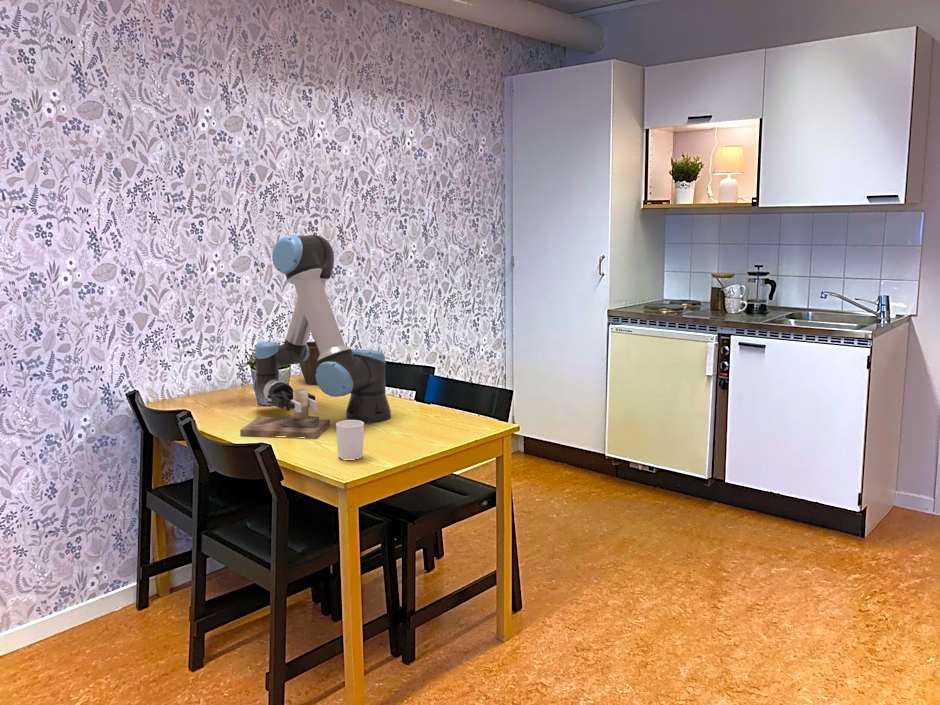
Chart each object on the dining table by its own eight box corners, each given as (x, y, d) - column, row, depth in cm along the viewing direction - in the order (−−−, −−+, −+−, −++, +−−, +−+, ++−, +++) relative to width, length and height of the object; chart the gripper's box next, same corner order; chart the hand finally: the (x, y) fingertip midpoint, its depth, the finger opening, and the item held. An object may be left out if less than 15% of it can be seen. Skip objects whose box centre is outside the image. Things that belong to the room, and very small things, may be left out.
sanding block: (319, 422, 257) (318, 388, 255) (314, 427, 251) (313, 393, 249) (289, 421, 258) (288, 387, 256) (282, 426, 252) (281, 392, 250)
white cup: (368, 454, 231) (368, 421, 229) (357, 462, 223) (357, 427, 222) (343, 452, 233) (343, 418, 231) (331, 460, 226) (331, 425, 224)
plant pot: (289, 385, 321) (288, 345, 319) (308, 378, 335) (307, 340, 333) (322, 388, 317) (321, 348, 314) (340, 380, 331) (339, 342, 328)
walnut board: (330, 425, 262) (330, 419, 262) (316, 438, 246) (316, 432, 246) (258, 422, 264) (258, 416, 264) (240, 436, 249) (240, 429, 248)
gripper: (303, 400, 273) (334, 414, 255) (253, 407, 263) (281, 422, 245) (303, 379, 272) (333, 391, 253) (252, 385, 262) (280, 398, 243)
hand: (308, 407), depth 249 cm, fingers closed on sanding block, 5 cm apart
